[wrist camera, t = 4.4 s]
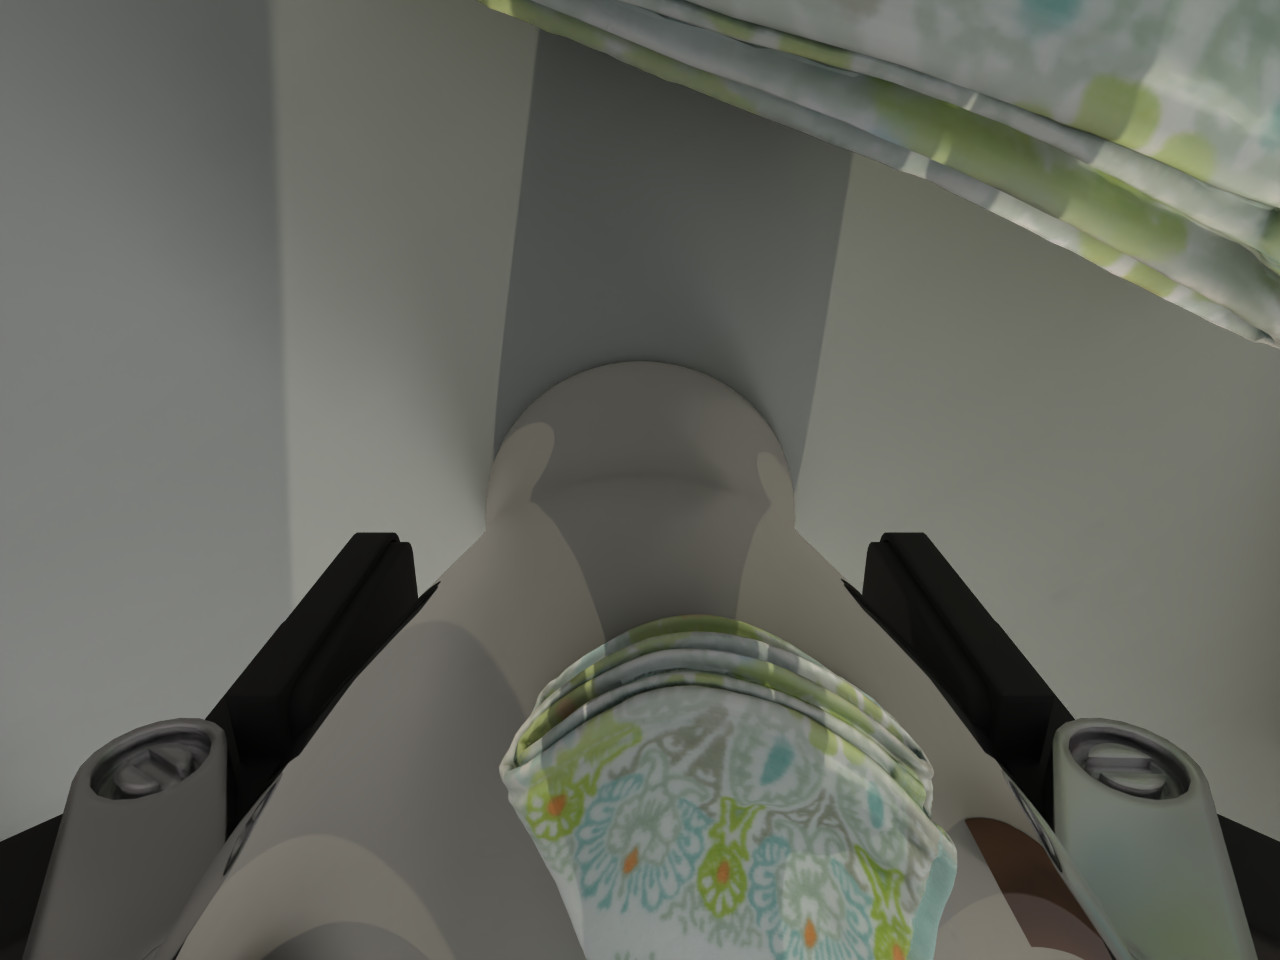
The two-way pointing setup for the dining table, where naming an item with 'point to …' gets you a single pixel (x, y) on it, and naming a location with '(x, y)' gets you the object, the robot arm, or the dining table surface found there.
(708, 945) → the beer glass
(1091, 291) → the dining table surface
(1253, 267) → the towel
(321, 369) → the dining table surface
